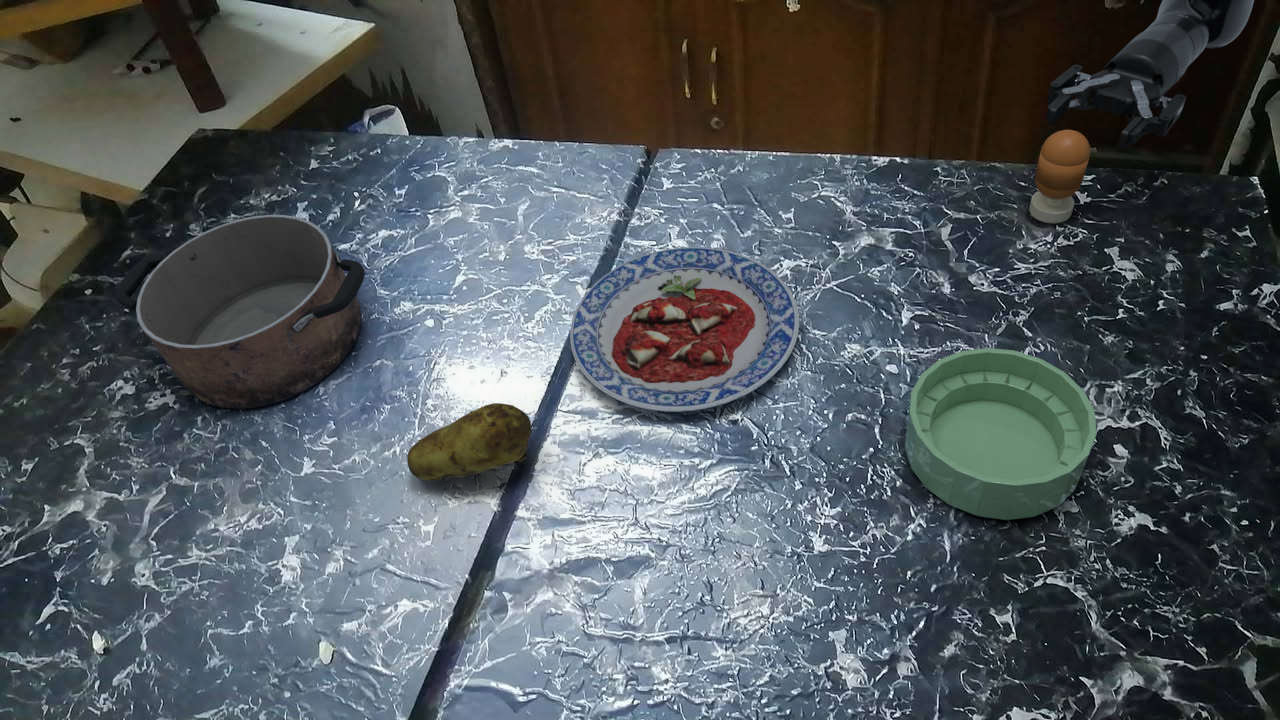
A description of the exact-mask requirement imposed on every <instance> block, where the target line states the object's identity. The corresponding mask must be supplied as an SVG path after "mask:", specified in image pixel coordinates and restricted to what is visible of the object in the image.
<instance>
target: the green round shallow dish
mask: <svg viewBox="0 0 1280 720" xmlns="http://www.w3.org/2000/svg"><path fill="white" fill-rule="evenodd" d="M1095 411H1096V410H1094V407H1093V406H1092V404H1091V402H1090V400H1089V398H1088V396H1087V394H1086V392H1085V391H1084V389H1083V388H1082V387H1080V385H1078V384H1077V382H1075V380H1073V378H1071V377H1070V376H1069V375H1068V374H1067V373H1066V372H1065V371H1063V370H1061V369H1060V368H1058V367H1057V366H1055V365H1053V364H1051V363H1049V362H1047V361H1046V360H1045V359H1042V358H1040V357H1037V356H1034V355H1030V354H1027V353H1024V352H1021V351H1018V350H1014V349H1004V348H1003V349H1002V348H993V347H982V348H976V349H968V350H960V351H958V352H955V353H952V354H950V355H947V356H945V357H942V358H940V359H938V360H937V361H936V362H934V363H933V364H931V365H930V366H929V367H928V368H927V369H926V370H924V371H923V372H922V373H921V374H920V375H919V377H918V379H917V380H916V383H915V385H914V386H913V388H912V390H911V392H910V399H909V405H908V412H907V418H906V425H905V436H904V437H905V438H904V449H905V450H904V451H905V454H906V456H907V459H908V463H909V466H910V469H911V470H912V472H913V473H914V474H915V475H916V477H917V479H919V481H920V482H921V484H923V486H924V487H925V489H927V490H928V491H929V492H930V493H932V494H933V495H935V496H936V497H937V498H939V499H940V500H942V501H943V502H945V503H946V504H947V505H949V506H950V507H954V508H956V509H959V510H961V511H964V512H966V513H969V514H971V515H973V516H976V517H982V518H987V519H989V518H990V519H996V520H1002V521H1009V520H1010V521H1011V520H1018V519H1027V518H1035V517H1037V516H1039V515H1042V514H1044V513H1046V512H1048V511H1050V510H1053V509H1056V508H1057V507H1059V506H1060V505H1062V504H1063V503H1064V502H1065V501H1066V500H1067V498H1069V497H1070V496H1071V494H1073V493H1074V492H1075V491H1076V489H1077V486H1078V484H1079V481H1080V480H1081V476H1082V474H1083V471H1084V468H1085V466H1086V463H1087V462H1088V461H1087V460H1088V458H1089V455H1090V454H1091V451H1092V448H1093V445H1094V444H1095V440H1096V438H1097V432H1098V431H1097V420H1096V412H1095Z"/></svg>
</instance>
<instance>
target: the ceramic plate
mask: <svg viewBox="0 0 1280 720" xmlns="http://www.w3.org/2000/svg"><path fill="white" fill-rule="evenodd" d="M799 313H800V312H799V309H798V304H797V301H796V299H795V297H794V295H793V293H792V291H791V289H790V288H789V286H788V285H787V284H786V283H785V281H784V280H783V279H782V278H781V276H779V275H778V274H777V273H776V272H775V271H774V270H772V269H770V268H769V267H768V266H766V265H764V264H763V263H761V262H759V261H758V260H756V259H755V258H752V257H749V256H748V255H744V254H741V253H738V252H734V251H730V250H727V249H722V248H716V247H715V248H714V247H708V246H707V247H705V246H686V247H685V246H684V247H673V248H667V249H662V250H661V249H660V250H657V251H656V250H655V251H652V252H649V253H645V254H644V255H641V256H638V257H635V258H633V259H630V260H627V261H625V262H624V263H622V264H620V265H618V266H617V267H615V268H614V269H612V270H610V271H609V272H607V273H606V274H605V275H603V276H602V277H601V278H600V279H598V280H597V281H596V282H595V283H594V284H593V285H592V286H591V287H590V288H589V289H588V290H587V292H586V293H585V294H584V296H583V297H582V298H581V300H580V302H579V303H578V305H577V307H576V309H575V312H574V313H573V317H572V319H571V324H570V331H569V333H570V334H569V337H570V348H571V351H572V355H573V358H574V361H575V362H576V364H577V366H578V368H579V370H580V371H581V372H582V374H583V376H585V378H587V380H588V381H589V382H590V383H591V384H592V385H594V387H596V388H597V389H599V390H600V391H601V392H603V394H606V395H607V396H609V397H611V398H613V399H615V400H617V401H620V402H622V403H623V404H627V405H630V406H633V407H637V408H640V409H646V410H651V411H658V412H676V413H677V412H678V413H679V412H694V411H699V410H706V409H710V408H714V407H719V406H722V405H725V404H728V403H731V402H733V401H735V400H738V399H740V398H742V397H744V396H746V395H748V394H751V393H752V392H753V391H755V390H757V389H758V388H760V387H761V386H763V385H765V383H767V382H768V381H769V380H770V379H771V378H773V377H774V376H775V375H776V374H777V372H779V371H780V370H781V369H782V368H783V367H784V364H785V363H786V362H787V361H788V359H789V357H790V356H791V354H792V353H793V349H794V348H795V346H796V342H797V338H798V335H799V330H800V314H799Z"/></svg>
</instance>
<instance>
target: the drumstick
mask: <svg viewBox="0 0 1280 720" xmlns="http://www.w3.org/2000/svg"><path fill="white" fill-rule="evenodd" d="M1090 155H1091V146H1090V143H1089V141H1088V139H1087V138H1086V136H1084V134H1082V133H1081V132H1079V131H1077V130H1073V129H1061V130H1057V131H1056V132H1054V133H1052V134H1051V135H1049V136H1048V137H1047V139H1046V140H1045V141H1044V142H1043V144H1042V146H1041V149H1040V153H1039V158H1038V163H1037V166H1036V169H1035V175H1034V182H1035V186H1036V188H1037V190H1038V191H1036V192H1035V193H1033V195H1032V197H1031V199H1030V202H1029V203H1030V204H1029V207H1028V208H1029V209H1028V210H1029V213H1030V215H1031V216H1032V217H1033V218H1034V219H1036V220H1037V221H1040V222H1042V223H1046V224H1060V223H1063V222H1066V221H1068V220H1069V219H1070V218H1071V216H1072V214H1073V210H1074V208H1075V207H1074V206H1075V199H1074V197H1072V196H1073V195H1074V194H1075V193H1077V192H1078V191H1079V189H1080V188H1081V186H1082V184H1083V181H1084V177H1085V174H1086V170H1087V166H1088V164H1089V159H1090Z"/></svg>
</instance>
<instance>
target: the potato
mask: <svg viewBox="0 0 1280 720" xmlns="http://www.w3.org/2000/svg"><path fill="white" fill-rule="evenodd" d="M530 419H531V418H530V417H529V415H528V414H526V412H524V411H523V410H522V409H520V408H518V407H516V406H515V405H513V404H508V403H500V402H495V403H490V404H486V405H483V406H481V407H479V408H476V409H474V410H470V412H468V413H467V414H465V415H463V416H461V417H459V418H457V420H455V421H453V422H452V423H450V424H448V425H445V426H443V427H441V428H438V429H436V430H433V432H430V433H428V434H427V435H425V436H424V437H421V439H418V441H416V442H415V443H414V444H413V445H412V446H411V447H410V449H409V450H408V452H407V455H406V456H407V457H406V461H407V467H408V470H409V472H410V473H411V474H412V476H414V477H415V478H416V479H420V480H423V481H427V482H434V481H440V480H442V479H447V480H448V479H451V478H461V477H469V476H474V475H478V474H481V473H484V472H486V471H490V470H493V469H496V468H498V467H501V466H505V465H508V464H511V463H514V462H515V463H521V462H523V461H525V460H526V459H527V458H528V457H527V453H526V452H527V450H528V448H529V441H530V438H531V435H532V422H531V420H530Z"/></svg>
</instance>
